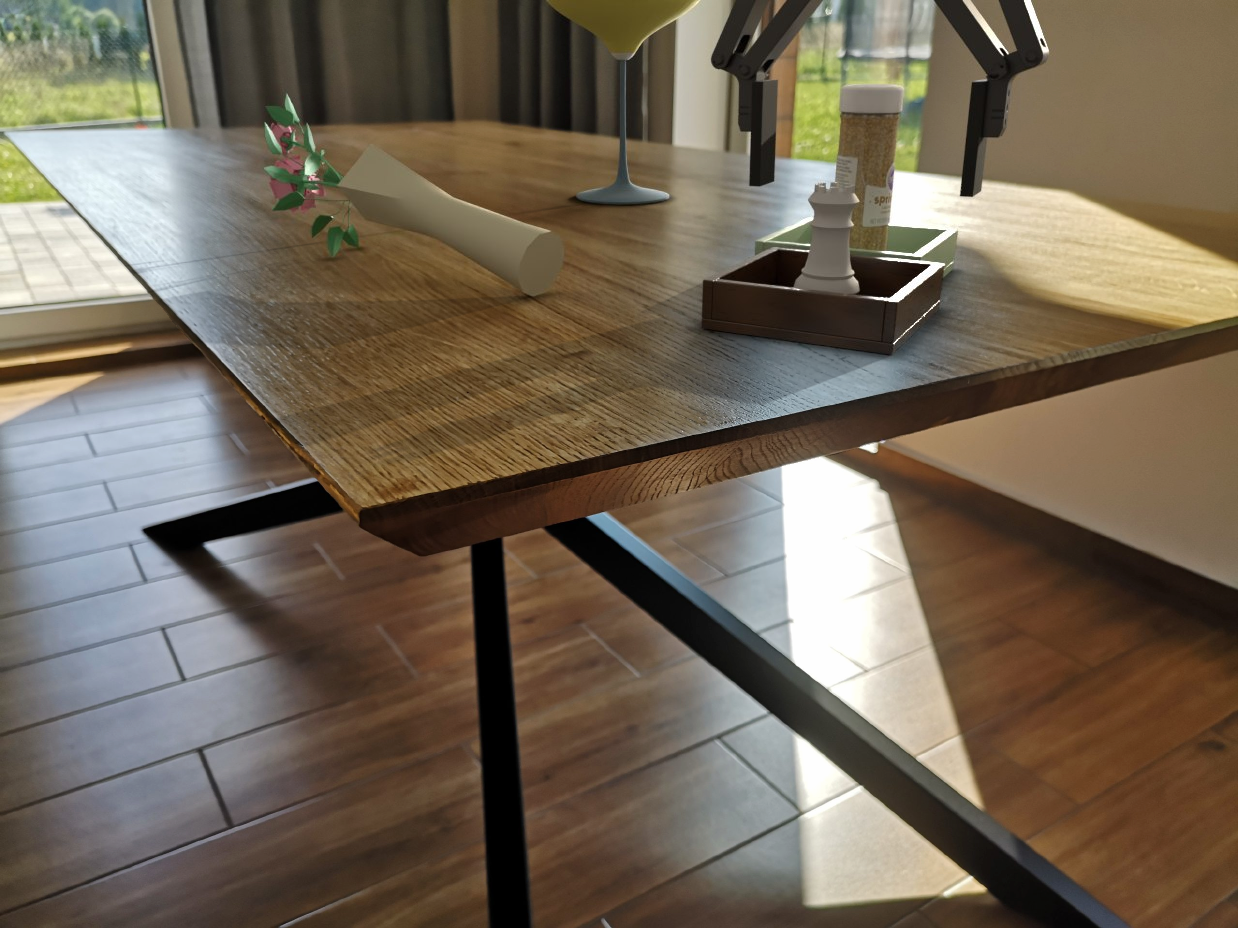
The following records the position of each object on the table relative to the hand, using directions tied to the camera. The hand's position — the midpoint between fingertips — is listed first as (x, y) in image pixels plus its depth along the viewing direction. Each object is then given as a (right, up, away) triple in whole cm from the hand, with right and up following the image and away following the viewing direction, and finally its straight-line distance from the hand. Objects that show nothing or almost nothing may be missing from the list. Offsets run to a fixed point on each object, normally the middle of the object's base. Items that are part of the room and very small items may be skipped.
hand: (861, 189), depth 66 cm
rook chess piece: (-2, -7, +2) cm, 8 cm away
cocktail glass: (-15, +13, +53) cm, 57 cm away
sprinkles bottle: (+3, -2, +15) cm, 15 cm away
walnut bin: (-2, -8, +3) cm, 9 cm away
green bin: (+3, -3, +15) cm, 15 cm away
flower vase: (-34, -1, +19) cm, 39 cm away
